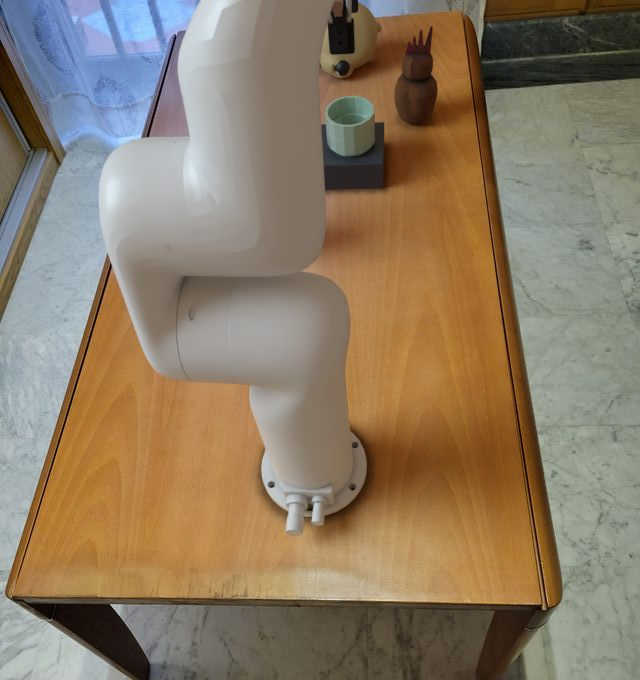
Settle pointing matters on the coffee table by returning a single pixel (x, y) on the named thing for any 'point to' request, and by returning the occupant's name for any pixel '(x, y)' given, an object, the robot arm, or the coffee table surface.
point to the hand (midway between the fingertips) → (344, 32)
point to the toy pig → (364, 46)
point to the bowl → (350, 125)
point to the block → (354, 165)
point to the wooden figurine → (416, 83)
